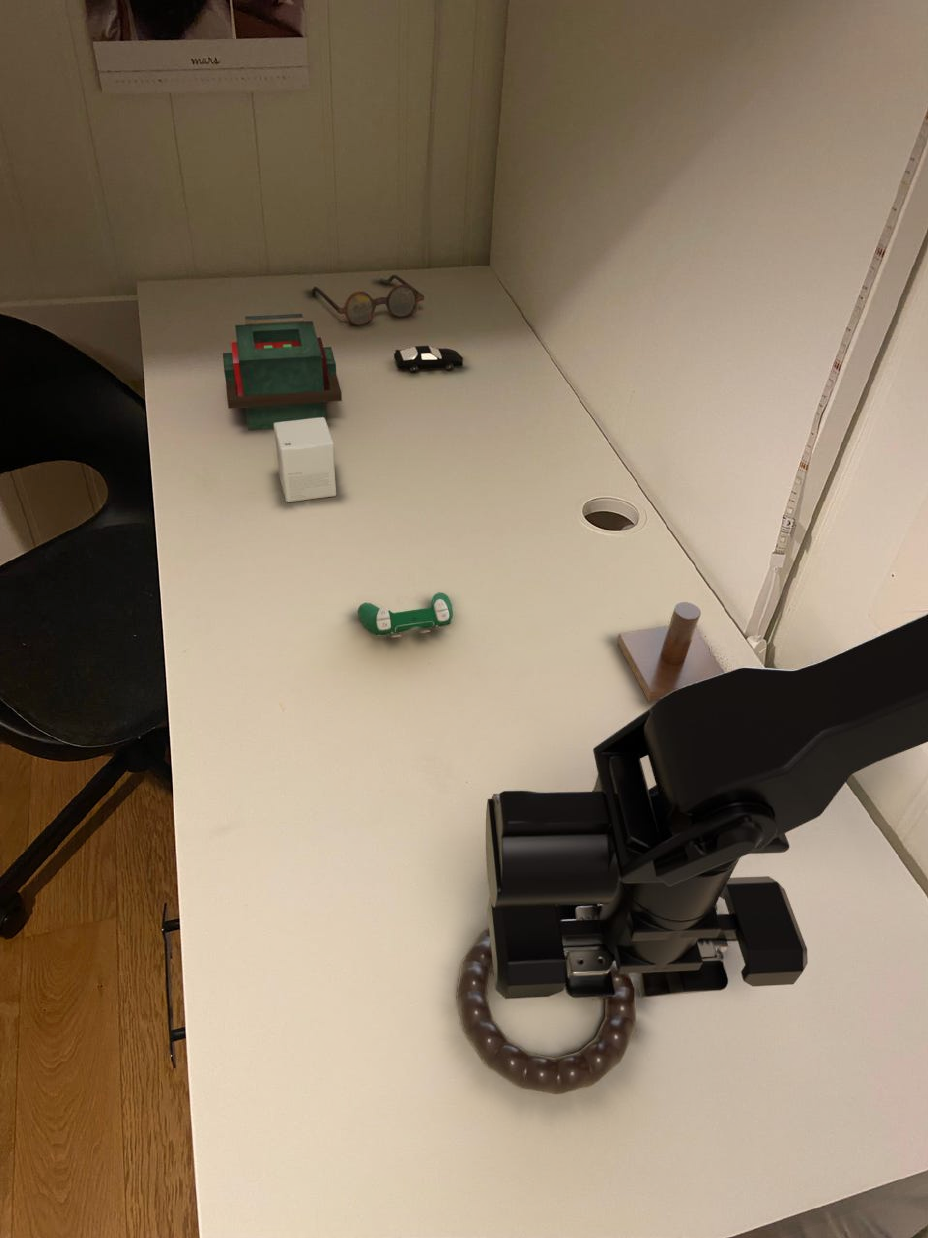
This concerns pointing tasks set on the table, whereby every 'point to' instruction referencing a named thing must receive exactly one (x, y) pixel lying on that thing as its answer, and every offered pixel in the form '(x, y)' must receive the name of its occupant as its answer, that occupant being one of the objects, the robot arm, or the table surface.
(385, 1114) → the table surface
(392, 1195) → the table surface
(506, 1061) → the ring
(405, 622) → the gaming controller
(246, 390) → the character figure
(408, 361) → the toy car
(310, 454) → the product box
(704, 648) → the peg stand
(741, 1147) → the table surface
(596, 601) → the table surface
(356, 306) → the eyeglasses
